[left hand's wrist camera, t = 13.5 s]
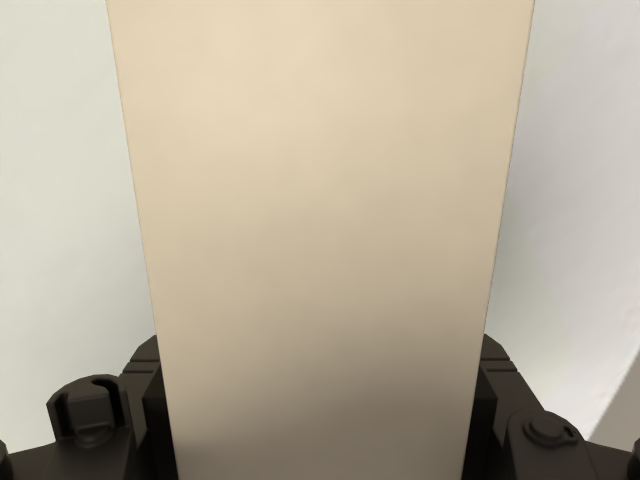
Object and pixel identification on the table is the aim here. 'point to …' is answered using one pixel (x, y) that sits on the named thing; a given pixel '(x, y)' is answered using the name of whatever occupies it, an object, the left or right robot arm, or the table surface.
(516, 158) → the table surface
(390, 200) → the beam
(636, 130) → the table surface
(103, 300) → the table surface
